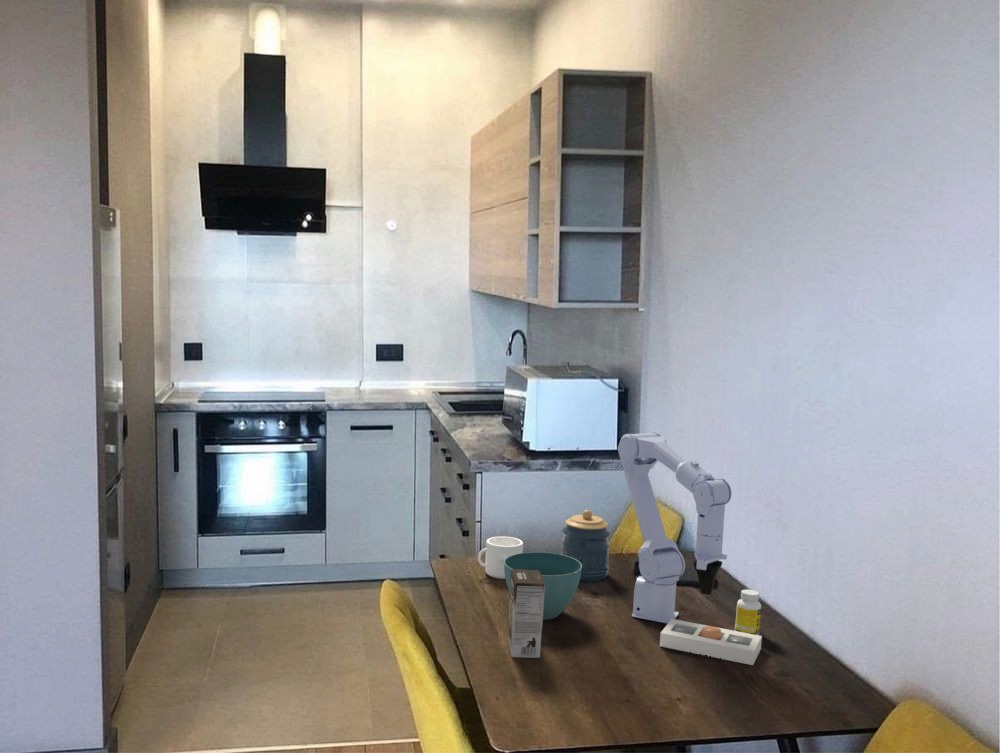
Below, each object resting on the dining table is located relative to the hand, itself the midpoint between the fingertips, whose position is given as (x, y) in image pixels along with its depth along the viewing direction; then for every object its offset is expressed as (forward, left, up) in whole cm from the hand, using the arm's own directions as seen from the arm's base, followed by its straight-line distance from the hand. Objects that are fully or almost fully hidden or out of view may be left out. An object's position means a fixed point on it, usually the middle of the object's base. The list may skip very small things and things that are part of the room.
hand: (706, 593), depth 214 cm
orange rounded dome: (+3, -5, -9) cm, 11 cm away
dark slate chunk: (-17, +41, -11) cm, 45 cm away
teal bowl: (-37, -5, -11) cm, 39 cm away
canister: (-38, +29, -11) cm, 49 cm away
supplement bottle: (+8, +8, -11) cm, 16 cm away
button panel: (+3, -5, -10) cm, 12 cm away
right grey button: (+9, -5, -10) cm, 14 cm away
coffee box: (-32, -27, -11) cm, 43 cm away
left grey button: (-3, -5, -10) cm, 12 cm away
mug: (-57, +16, -11) cm, 61 cm away
